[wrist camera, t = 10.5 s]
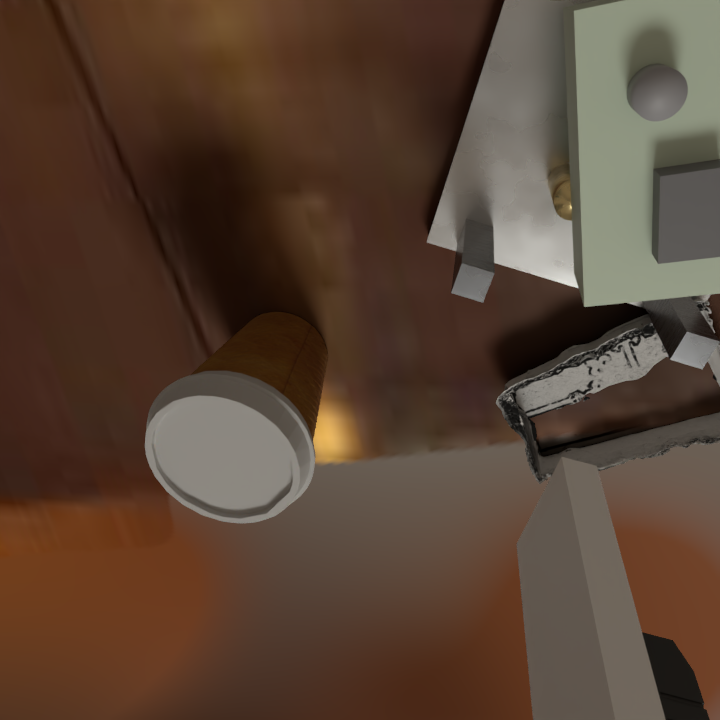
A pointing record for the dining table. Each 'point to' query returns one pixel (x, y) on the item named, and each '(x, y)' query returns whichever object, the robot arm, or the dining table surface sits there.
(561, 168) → the chassis
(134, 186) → the dining table surface
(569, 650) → the robot arm
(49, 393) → the dining table surface
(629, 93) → the board
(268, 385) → the disposable coffee cup
